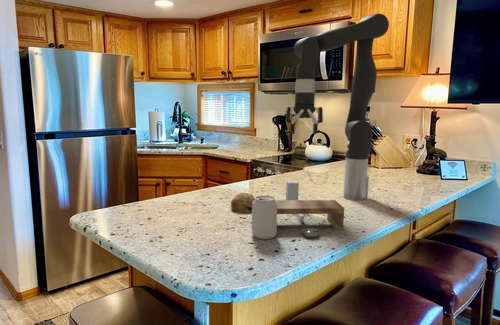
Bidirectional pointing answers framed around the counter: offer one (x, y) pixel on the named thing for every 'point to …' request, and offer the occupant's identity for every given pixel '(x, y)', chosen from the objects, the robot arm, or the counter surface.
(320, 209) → the riser
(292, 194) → the mallet tool
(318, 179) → the counter surface
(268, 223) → the can
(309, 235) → the disc
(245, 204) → the bread roll
